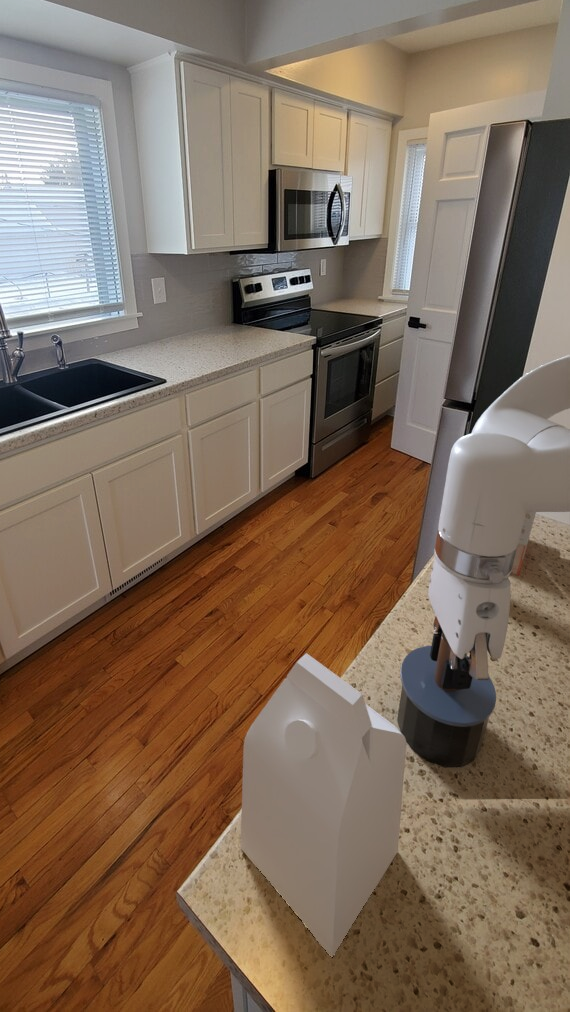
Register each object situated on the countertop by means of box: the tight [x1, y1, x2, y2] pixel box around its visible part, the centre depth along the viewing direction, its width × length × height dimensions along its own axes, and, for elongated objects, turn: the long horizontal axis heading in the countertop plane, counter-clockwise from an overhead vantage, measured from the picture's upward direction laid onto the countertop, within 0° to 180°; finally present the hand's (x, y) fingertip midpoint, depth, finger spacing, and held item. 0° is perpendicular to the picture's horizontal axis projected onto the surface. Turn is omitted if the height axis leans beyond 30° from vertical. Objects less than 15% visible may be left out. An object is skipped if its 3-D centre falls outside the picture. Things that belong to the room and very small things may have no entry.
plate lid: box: [399, 632, 497, 727], centre depth 58 cm, size 11×11×8 cm
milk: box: [239, 652, 407, 958], centre depth 46 cm, size 12×12×26 cm
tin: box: [396, 685, 490, 769], centre depth 61 cm, size 10×10×8 cm
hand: (449, 671), depth 58 cm, fingers open, 3 cm apart
